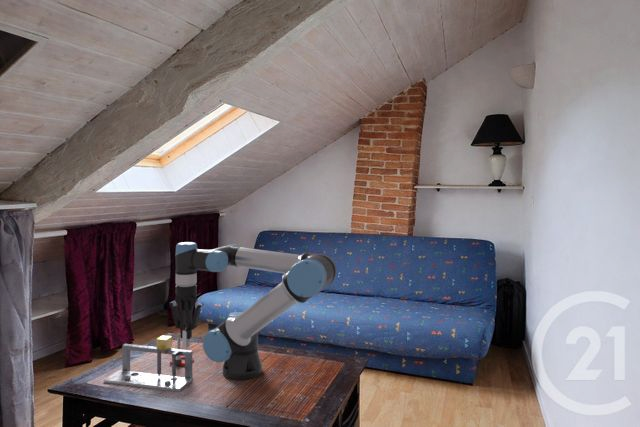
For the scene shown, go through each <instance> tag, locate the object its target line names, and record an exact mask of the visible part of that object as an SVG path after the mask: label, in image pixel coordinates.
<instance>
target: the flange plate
mask: <svg viewBox="0 0 640 427" xmlns="http://www.w3.org/2000/svg"><path fill="white" fill-rule="evenodd" d="M192 379H193V377H192V378H185V376H184V377H183V376H182V377H181V376H177V375H176V376H175V378H173V377H172V375H166V374H160V376H158V374H157V373H148V372H140V371H132V370H130V371H124V370H122V369H119V370H117V371H115V372H114V373H112V374H110V375H109V376H108V377H106V378H104V379H103V383H107V384H113V385H114V384H115V385H121V386H131V387H139V388H147V389H153V390H161V391H171V392H176V393H177V392H178V393H180V392H182V390H184V389H185V388H186V387H187V386H188V385H189V384H190V383H191V382H192V381H193V380H192Z"/></svg>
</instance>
